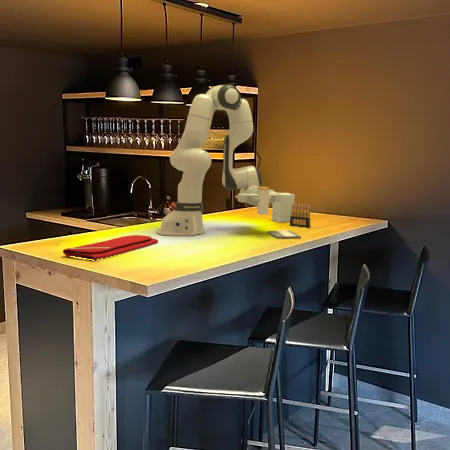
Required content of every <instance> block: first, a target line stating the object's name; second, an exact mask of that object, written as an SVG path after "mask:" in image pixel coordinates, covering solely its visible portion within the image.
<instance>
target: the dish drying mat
mask: <svg viewBox="0 0 450 450" xmlns="http://www.w3.org/2000/svg"><path fill="white" fill-rule="evenodd" d="M158 243H159V239H156V238H153V237H152V236H150V235H141V234H139V235H138V234H134V235H133V234H131V235H124V236H120V237H115V238H112V239H108V240H103V241H99V242H98V241H97V242H94V243H89V244H84V245H79V246H76V247H75V246H73V247H69V248H68V247H67V248H64V249H63V250H62V253H63V254H64V255H65V256H67V257H68V256H75V257H81V258H87V259H93V260H97V259H101V258H105V259H107V258H106V257H109V258H111V257H110V256H113V257H115V256H114V255H116V256H119V255H118V254H120V255H123V254H126V253H129V251H130V252H133V251H136V249H137V250H139V249H143V248H146V247H150V246H152V245H156V244H158ZM125 252H126V253H125ZM122 253H123V254H122Z"/></svg>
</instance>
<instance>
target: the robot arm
mask: <svg viewBox="0 0 450 450" xmlns="http://www.w3.org/2000/svg"><path fill="white" fill-rule="evenodd" d="M222 110H223V111H225V112H226V114H227V116H228V122H229V130H228V133H227V135H226V136H224V141H223V154H222V155H223V156H222V157H223V158H222V160H223V163H222V174H221V175H222V177H221V184H222V186H223V187H224V189H226V190H228V191H235V190H238V189H240V191H239V193H237V195H235V196H234V198H235V199H237V202H239V203H248V204H249V205H251V206H255V207H257V206H258V202H259V197H258V187H262V183H263V182H262V181H263V179H262V174H261V171H260V170H259V169H258V168H257V166H254V165H249V166H248V165H247V166H243V167H239V168H238V167H237V168H233V159H234V158H233V154H234V150H235V149H236V148H237V147H238V146H239V145H241V144H243V143H245V142H246V141H248V139H250V137H251V136H252V135H253V133H254V122H253V116H252V112H251V108H250V105H249V102H248V100H247V99H244V98H242V96H241V93H240V91H239V89H238V88H237V87H236V86H234V85H233V84H219V85H216V86H213V87H210V88H209V89H207V91H205V93H200V94H197V95H196V96H195V97H194V98H193V100H192V102H191V106H190V107H189V111H188V114H187V118H186V119H187V120H186V122H185V127H184V131H183V133H182V136H181V138H180V140H179V142H178V144H177V145H176V148H175V149H174V150H173V151H172V152H171V153H170V155H169V161H170V164H171V166H172V167H173V168H175V169H176V170H178V171H181V172H182V177H181V180H180V182H179V183H178V184H177V185H178V186H177V201H176V202H175V201H173V202H171V207H173V210H172V211H170V212H169V213H168V214H167V215H165V216H164V217H162V219H161V223H160V227H158V228H156V229H155V232H156V234H157V235H161V236H197V235H201V234H204V233H205V227H204V223H203V221H204V220H203V212H204V205H203V204H204V203H203V201H202V200H203V183H204V179H205V175H206V173H207V172H208V170H209V169H210V168H211V165H212V157H211V155H210V153H209V152H208V151H206V150H204V149H202V146H203V144H204V143H205V141H207V140H208V138H209V133H210V129H211V126H212V121H213V117H214V113H215V112H216V111H222ZM280 193H281V192H277V191H275V190H274V189H271V188H269V204H273V202H281V194H280Z"/></svg>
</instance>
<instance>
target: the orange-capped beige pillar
mask: <svg viewBox="0 0 450 450" xmlns="http://www.w3.org/2000/svg"><path fill="white" fill-rule="evenodd" d="M269 189H270V187H268V186H261V187H258V197H259V202H258V206H256V207H257V208H256V209H257V210H256V214H258V215H269V206H270V203H269Z"/></svg>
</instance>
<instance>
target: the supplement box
mask: <svg viewBox="0 0 450 450" xmlns="http://www.w3.org/2000/svg"><path fill="white" fill-rule="evenodd" d="M279 193H280V194H281V202H273V203H272V209H271V210H272V211H271V212H272V214H271V220H272V221H273V222H276V223H279V224H280V223H290V216H291V209H292V203H294V205H295V204H296V202H295V201H296V199H295V198H296V195H295V194H294V193H290V192H279Z"/></svg>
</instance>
